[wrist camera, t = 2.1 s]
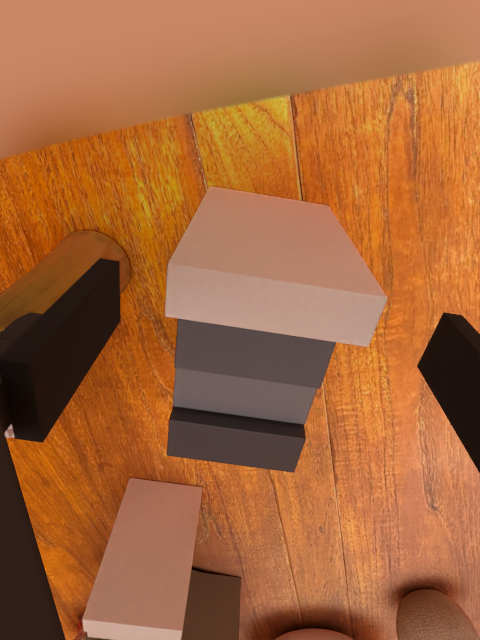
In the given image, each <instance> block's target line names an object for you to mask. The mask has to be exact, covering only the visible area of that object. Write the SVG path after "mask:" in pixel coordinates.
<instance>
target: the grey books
mask: <svg viewBox="0 0 480 640" xmlns="http://www.w3.org/2000/svg"><path fill="white" fill-rule="evenodd" d="M335 344H336V342H331V341H324V340H318V339H311V338H304V337H298V336H291V335H284V334H278V333H271V332H264V331H258V330H251V329H244V328H238V327H231V326H224V325H218V324H211V323H204V322H198V321H191V320H184V319H178V327H177V340H176V353H175V368H176V370H175V383H174V396H173V409H172V412H171V416H170V419H169V432H168V445H167V455H168V456H175V457H182V458H190V459H197V460H205V461H212V462H219V463H227V464H234V465H242V466H249V467H256V468H264V469H271V470H279V471H286V472H294V471H295V468H296V465H297V462H298V460H299V457H300V454H301V451H302V448H303V445H304V442H305V440H306V437H305V430H304V424H305V423H306V420H307V417H308V414H309V411H310V408H311V405H312V402H313V399H314V396H315V393H316V390H317V388H319V389H320V387H321V385H322V382H323V379H324V376H325V373H326V370H327V367H328V364H329V361H330V358H331V356H332V353H333V350H334V347H335Z"/></svg>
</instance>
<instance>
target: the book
mask: <svg viewBox="0 0 480 640" xmlns="http://www.w3.org/2000/svg"><path fill="white" fill-rule="evenodd" d="M240 589H241V578H239V577H231V576H223V575H216V574H208V573H202V572H198V571H195V570H191V575H190V582H189V589H188V596H187V603H186V610H185V617H184V624H183V631H182V637H181V640H239V616H240ZM85 640H111V639H102V638H94V637H88V635H87V634H86V637H85Z"/></svg>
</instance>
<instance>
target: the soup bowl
mask: <svg viewBox="0 0 480 640" xmlns="http://www.w3.org/2000/svg"><path fill="white" fill-rule="evenodd" d="M275 640H354V639H352V638H350V637H348V636H347V635H344V634H342V633H339V632H336V631H332V630H326V629H300V630H295V631H291V632H288V633H286V634H283V635H281V636H279V637H278V638H276V639H275Z"/></svg>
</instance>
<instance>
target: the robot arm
mask: <svg viewBox="0 0 480 640" xmlns="http://www.w3.org/2000/svg"><path fill="white" fill-rule="evenodd" d="M119 322H120V261H116V260H109V259H103V258H100V259H98V260H97V261H96V262H95V263H94V264H93V265H92V266H91V267H90V268H89V269H88V270H87V271H86V272H85V273H84V274H83V275H82V276H81V277H80V278H79V279H78V280H77V281H76V282H75V283H74V284H73V285H72V286H71V287H70V288H69V289H68V290H67V291H66V292H65V293H64V294H63V295H62V296H61V297H60V298H59V299H58V300H57V301H56V302H55V303H54V304H53V305H52V306H51V307H50V308H49V309H47V310H46V311H45V312H44V313H43V314H39V313H32V312H30V313H28V314H25V315H23V316H21V317H19V318H17V319H15V320H14V321H13V322H11V323H10V324H9V325H8V326H7V327H6V328H5V330H2V331H1V332H0V640H65V636H64V633H63V630H62V626H61V623H60V619H59V616H58V613H57V609H56V606H55V603H54V599H53V596H52V592H51V589H50V586H49V582H48V579H47V576H46V572H45V569H44V565H43V562H42V559H41V555H40V552H39V549H38V545H37V542H36V538H35V535H34V532H33V528H32V525H31V521H30V518H29V515H28V511H27V508H26V505H25V501H24V498H23V494H22V491H21V488H20V484H19V481H18V478H17V474H16V471H15V467H14V464H13V461H12V457H11V454H10V451H9V447H8V444H7V440H6V437H5V434H4V433H5V432H6V430H7V429H8V428H9V427H10V425H11V424H12V428H13V432H14V437H15V439H22V440H29V441H36V442H43V441H44V440H45V438H46V437H47V435H48V433H49V432H50V430H51V429H52V427H53V426H54V424H55V423H56V421H57V419H58V418H59V416H60V415H61V413H62V412H63V410H64V408H65V407H66V405H67V404H68V402H69V401H70V399H71V397H72V396H73V394H74V393H75V391H76V390H77V388H78V386H79V385H80V383H81V382H82V380H83V379H84V377H85V375H86V374H87V372H88V371H89V369H90V368H91V366H92V365H93V363H94V361H95V360H96V358H97V357H98V355H99V354H100V352H101V350H102V349H103V347H104V346H105V344H106V343H107V341H108V339H109V338H110V336H111V335H112V333H113V332H114V330H115V328H116V327H117V325H118V324H119ZM417 367H418V368H419V370H420V372H421V373H422V375H423V377H424V379H425V380H426V382H427V384H428V385H429V387H430V389H431V391H432V392H433V394H434V396H435V397H436V399H437V401H438V403H439V404H440V406H441V408H442V409H443V411H444V413H445V415H446V416H447V418H448V420H449V421H450V423H451V425H452V426H453V428H454V430H455V432H456V433H457V435H458V437H459V438H460V440H461V442H462V444H463V445H464V447H465V449H466V450H467V452H468V454H469V456H470V457H471V459H472V461H473V462H474V464H475V466H476V467H477V469H478V471H479V473H480V334H479V333H478V332H477V331H476V330H475V329H474V328H473V327H472V326H471V324H470V323H469V322H468V321H467V320H466V319H465V318H464V317H463V316H462V315H456V314H450V313H443V315H442V317H441V319H440V321H439V323H438V325H437V327H436V329H435V331H434V333H433V335H432V337H431V339H430V341H429V343H428V345H427V347H426V349H425V351H424V353H423V355H422V357H421V359H420V362H419V364H418V366H417Z"/></svg>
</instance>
